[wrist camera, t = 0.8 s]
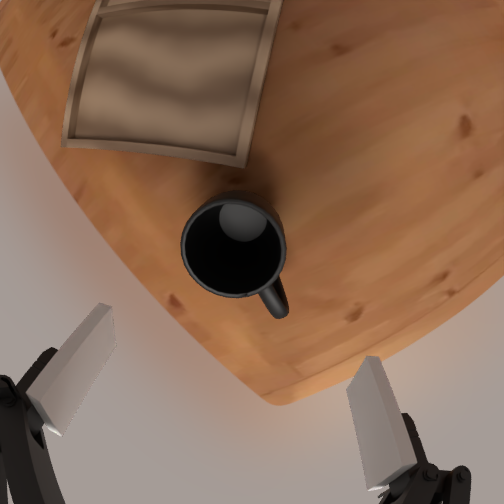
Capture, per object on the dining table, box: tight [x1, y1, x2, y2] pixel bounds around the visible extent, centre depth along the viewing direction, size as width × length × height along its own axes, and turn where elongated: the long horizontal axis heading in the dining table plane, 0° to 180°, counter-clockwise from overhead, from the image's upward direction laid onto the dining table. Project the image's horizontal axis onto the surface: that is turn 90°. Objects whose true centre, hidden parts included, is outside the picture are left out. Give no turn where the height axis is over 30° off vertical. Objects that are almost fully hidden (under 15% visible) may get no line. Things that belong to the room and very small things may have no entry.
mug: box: [180, 190, 289, 319], centre depth 26 cm, size 8×12×10 cm
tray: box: [61, 0, 284, 169], centre depth 19 cm, size 30×22×6 cm
